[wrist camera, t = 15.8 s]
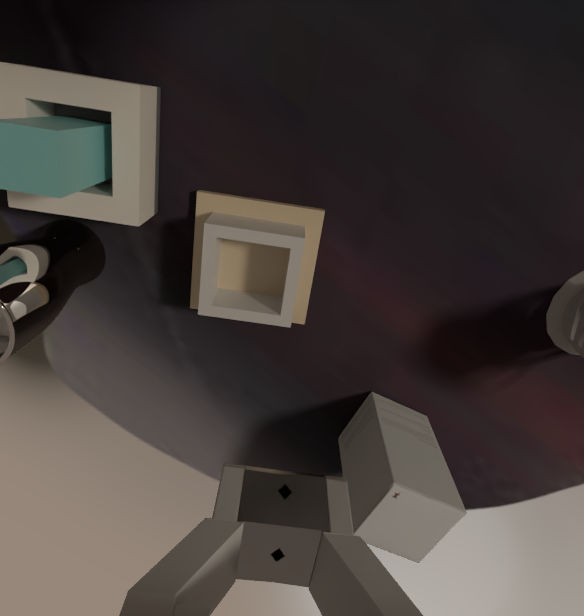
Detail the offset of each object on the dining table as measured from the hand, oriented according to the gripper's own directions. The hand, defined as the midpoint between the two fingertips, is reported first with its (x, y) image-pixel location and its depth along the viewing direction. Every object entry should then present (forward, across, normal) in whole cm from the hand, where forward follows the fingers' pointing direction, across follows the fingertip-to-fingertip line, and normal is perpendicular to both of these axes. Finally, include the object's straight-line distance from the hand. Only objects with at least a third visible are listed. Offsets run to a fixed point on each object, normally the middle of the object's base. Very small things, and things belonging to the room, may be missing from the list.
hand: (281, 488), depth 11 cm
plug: (+30, +17, -3) cm, 35 cm away
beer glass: (+31, +20, +7) cm, 38 cm away
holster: (+31, +3, +5) cm, 32 cm away
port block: (+31, +17, -3) cm, 36 cm away
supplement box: (+31, -13, +22) cm, 40 cm away
